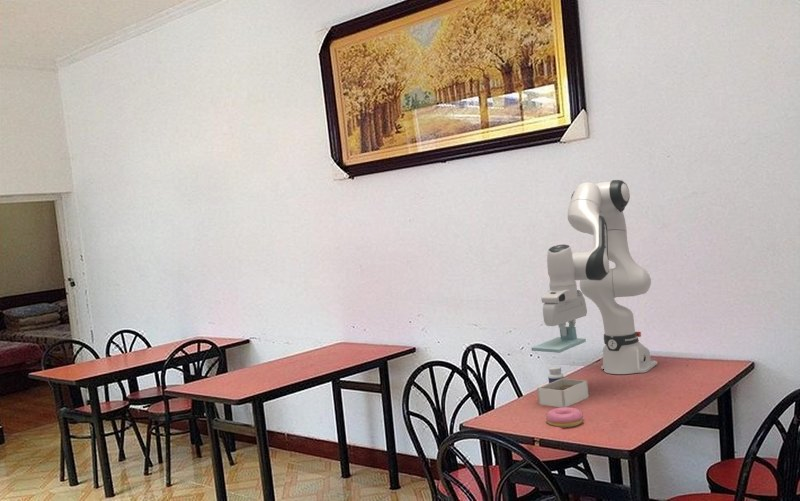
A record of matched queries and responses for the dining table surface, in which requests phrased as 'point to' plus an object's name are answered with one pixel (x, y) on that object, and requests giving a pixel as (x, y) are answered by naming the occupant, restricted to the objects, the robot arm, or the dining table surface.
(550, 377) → the pill bottle
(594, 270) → the robot arm
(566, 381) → the tub
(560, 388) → the block
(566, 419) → the doughnut
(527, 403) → the dining table surface
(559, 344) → the lid
